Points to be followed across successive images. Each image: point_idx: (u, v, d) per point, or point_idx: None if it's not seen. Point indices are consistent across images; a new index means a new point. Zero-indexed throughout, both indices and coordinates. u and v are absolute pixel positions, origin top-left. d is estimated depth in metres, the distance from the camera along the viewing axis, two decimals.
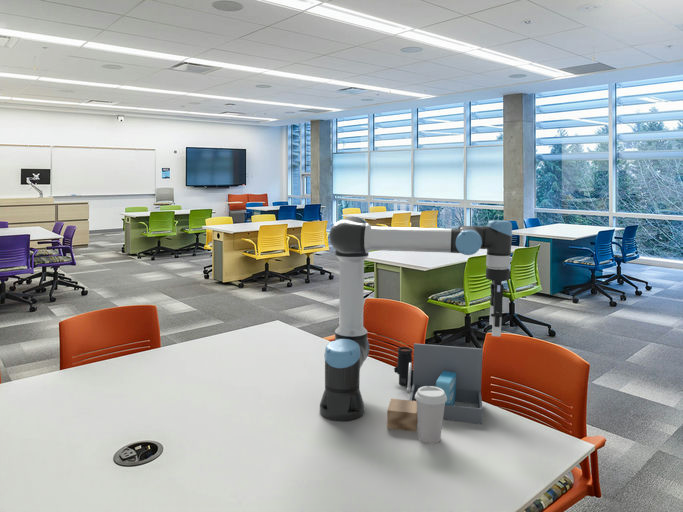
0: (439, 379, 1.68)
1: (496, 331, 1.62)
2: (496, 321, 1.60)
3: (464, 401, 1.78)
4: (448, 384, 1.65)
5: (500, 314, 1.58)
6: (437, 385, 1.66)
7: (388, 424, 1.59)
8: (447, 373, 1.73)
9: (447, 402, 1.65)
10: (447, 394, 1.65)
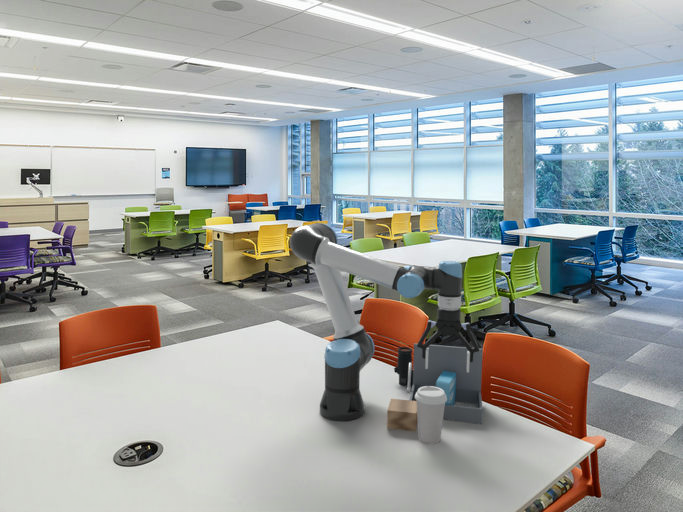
0: (439, 379, 1.68)
1: None
2: None
3: (464, 401, 1.78)
4: (448, 384, 1.65)
5: (417, 344, 1.71)
6: (437, 385, 1.66)
7: (388, 424, 1.59)
8: (447, 373, 1.73)
9: (447, 402, 1.65)
10: (447, 394, 1.65)
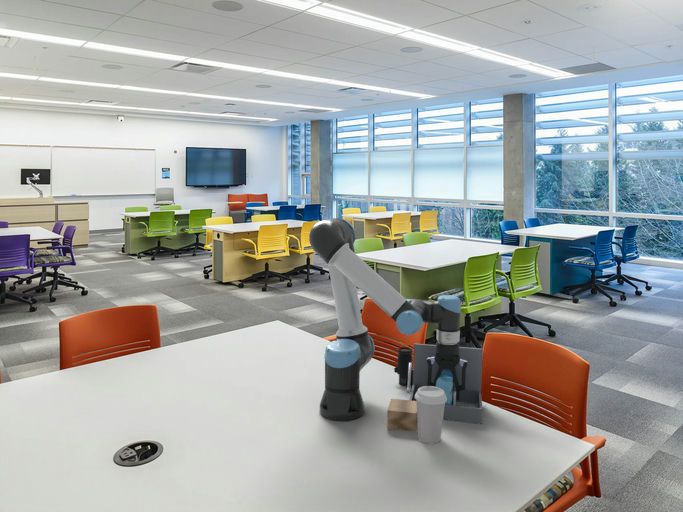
0: (439, 379, 1.68)
1: None
2: None
3: (464, 401, 1.78)
4: (448, 384, 1.65)
5: None
6: (437, 385, 1.66)
7: (388, 424, 1.59)
8: (447, 373, 1.73)
9: (447, 402, 1.65)
10: (447, 394, 1.65)
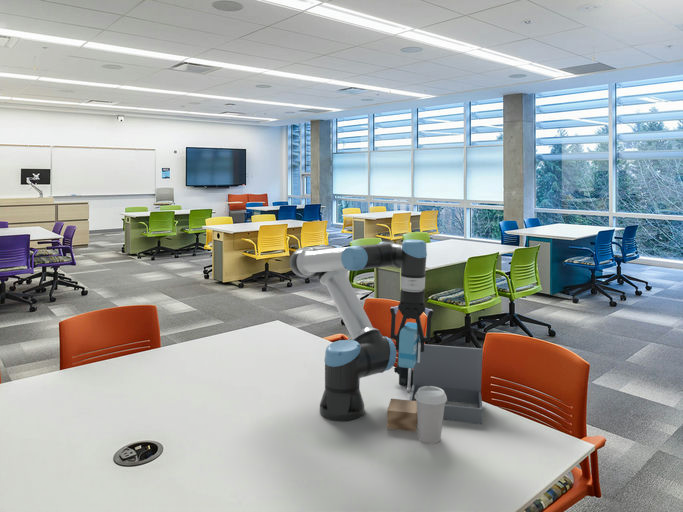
0: (403, 329, 1.56)
1: None
2: (396, 343, 1.61)
3: (464, 401, 1.78)
4: (412, 333, 1.54)
5: None
6: (401, 335, 1.55)
7: (388, 424, 1.59)
8: (411, 324, 1.62)
9: (411, 353, 1.54)
10: (411, 344, 1.54)
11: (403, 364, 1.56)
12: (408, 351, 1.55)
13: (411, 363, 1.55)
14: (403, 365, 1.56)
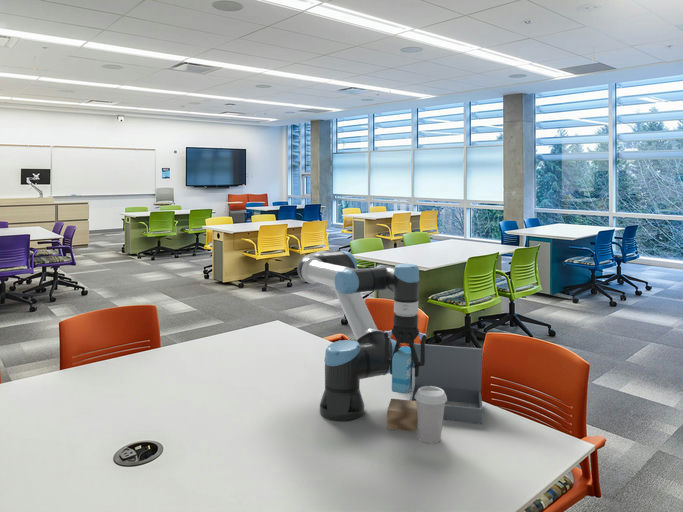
0: (396, 353, 1.56)
1: None
2: None
3: (464, 401, 1.78)
4: (405, 358, 1.53)
5: None
6: (393, 360, 1.54)
7: (388, 424, 1.59)
8: (406, 348, 1.61)
9: (404, 378, 1.53)
10: (404, 369, 1.53)
11: (396, 389, 1.55)
12: (401, 376, 1.54)
13: (404, 388, 1.54)
14: (396, 390, 1.55)
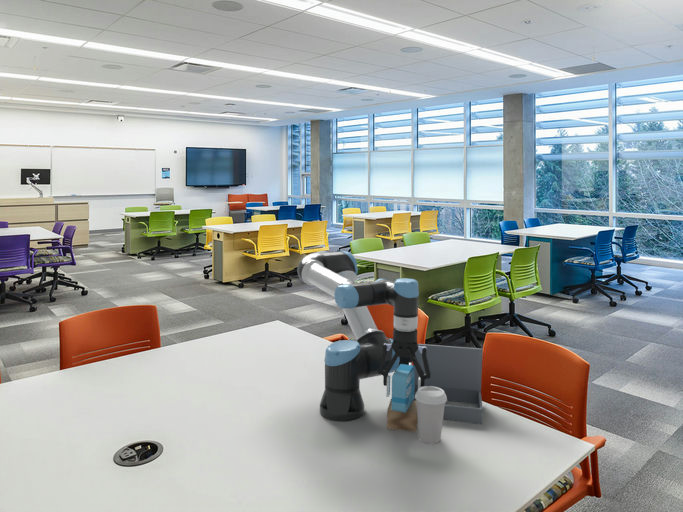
0: (395, 373, 1.57)
1: None
2: None
3: (464, 401, 1.78)
4: (405, 378, 1.54)
5: (378, 371, 1.61)
6: (393, 379, 1.55)
7: (388, 424, 1.59)
8: (404, 366, 1.62)
9: (404, 397, 1.54)
10: (404, 388, 1.54)
11: (396, 408, 1.56)
12: (401, 395, 1.55)
13: (404, 407, 1.55)
14: (396, 409, 1.56)
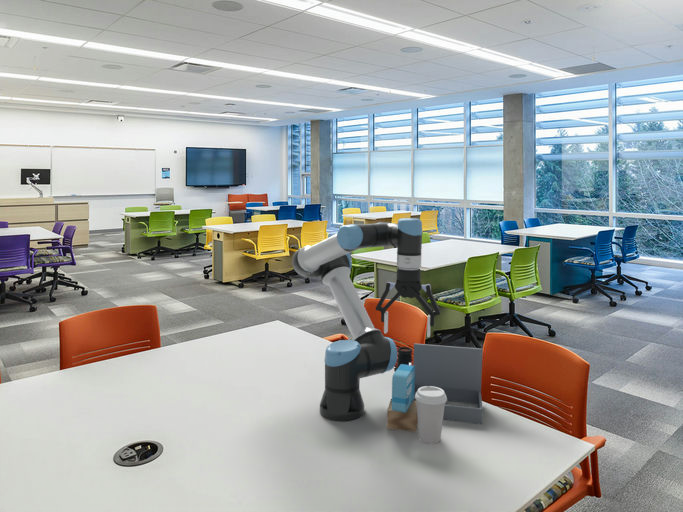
0: (396, 373, 1.57)
1: None
2: None
3: (464, 401, 1.78)
4: (405, 378, 1.54)
5: None
6: (393, 379, 1.55)
7: (388, 424, 1.59)
8: (405, 366, 1.62)
9: (404, 397, 1.54)
10: (404, 388, 1.54)
11: (396, 408, 1.56)
12: (401, 395, 1.55)
13: (404, 407, 1.55)
14: (396, 409, 1.56)
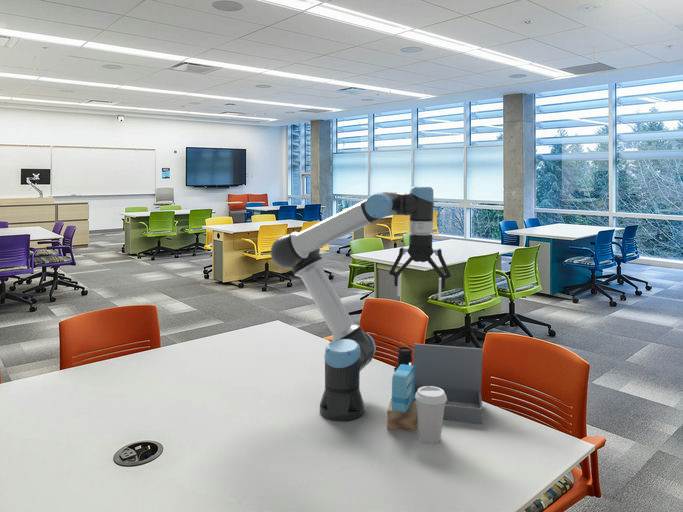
0: (396, 373, 1.57)
1: None
2: (394, 280, 1.71)
3: (464, 401, 1.78)
4: (405, 378, 1.54)
5: (389, 272, 1.70)
6: (393, 379, 1.55)
7: (388, 424, 1.59)
8: (405, 366, 1.62)
9: (404, 397, 1.54)
10: (404, 389, 1.54)
11: (396, 408, 1.56)
12: (401, 395, 1.55)
13: (404, 407, 1.55)
14: (396, 409, 1.56)
